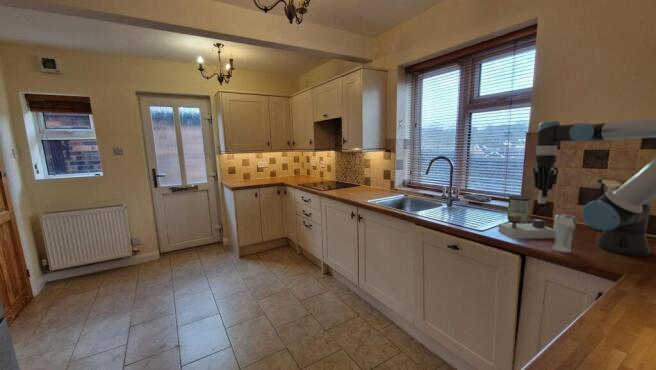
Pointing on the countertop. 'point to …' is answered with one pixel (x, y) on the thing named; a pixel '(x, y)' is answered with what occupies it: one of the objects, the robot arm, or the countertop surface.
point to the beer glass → (563, 232)
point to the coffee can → (519, 207)
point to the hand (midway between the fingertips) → (541, 203)
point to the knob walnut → (514, 220)
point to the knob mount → (526, 231)
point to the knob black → (538, 223)
